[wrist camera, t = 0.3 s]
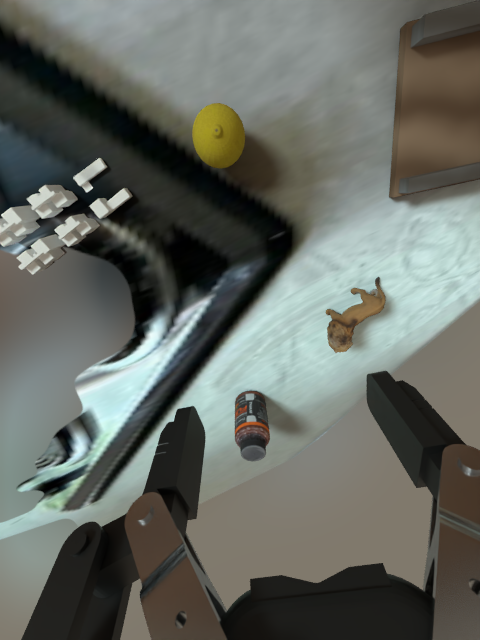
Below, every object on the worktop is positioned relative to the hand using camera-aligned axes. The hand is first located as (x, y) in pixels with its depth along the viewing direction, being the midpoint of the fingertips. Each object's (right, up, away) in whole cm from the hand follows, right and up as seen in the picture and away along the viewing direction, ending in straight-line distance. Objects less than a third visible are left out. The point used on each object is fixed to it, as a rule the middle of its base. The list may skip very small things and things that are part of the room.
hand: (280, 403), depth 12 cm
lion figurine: (+15, +7, +29) cm, 34 cm away
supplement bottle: (0, -12, +39) cm, 40 cm away
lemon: (-4, +25, +19) cm, 32 cm away
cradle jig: (+25, +29, +18) cm, 42 cm away
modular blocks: (-25, +18, +23) cm, 38 cm away
